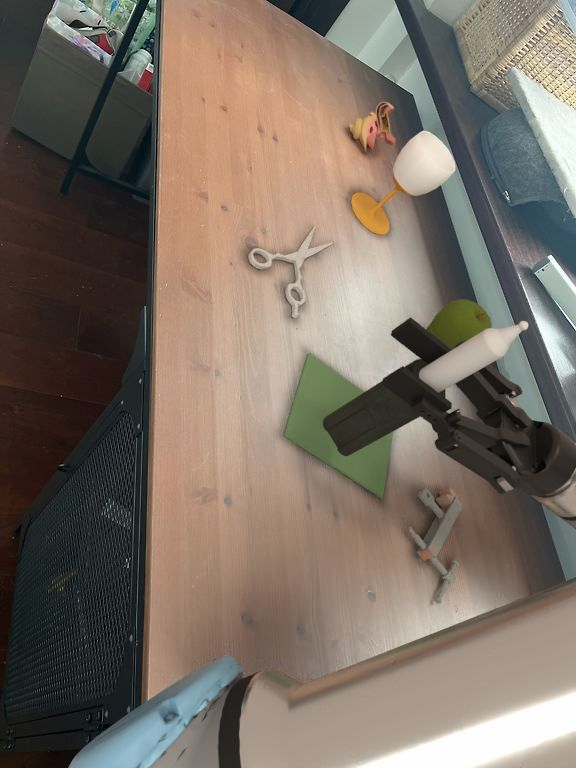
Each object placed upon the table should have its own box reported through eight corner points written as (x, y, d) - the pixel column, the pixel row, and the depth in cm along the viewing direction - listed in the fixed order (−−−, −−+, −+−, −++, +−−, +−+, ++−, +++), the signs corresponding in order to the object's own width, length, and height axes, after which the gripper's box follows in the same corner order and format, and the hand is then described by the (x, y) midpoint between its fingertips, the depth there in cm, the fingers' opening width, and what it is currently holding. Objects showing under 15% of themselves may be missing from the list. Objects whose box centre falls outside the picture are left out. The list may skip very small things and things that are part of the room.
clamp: (438, 470, 85) (482, 526, 86) (426, 476, 87) (470, 530, 87) (395, 540, 74) (447, 604, 75) (383, 545, 76) (433, 607, 76)
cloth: (380, 498, 79) (383, 497, 79) (283, 435, 74) (285, 434, 74) (393, 415, 88) (395, 414, 88) (307, 354, 83) (309, 352, 83)
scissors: (242, 258, 82) (304, 205, 97) (239, 261, 83) (301, 208, 97) (296, 316, 84) (350, 255, 98) (293, 319, 84) (346, 258, 99)
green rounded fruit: (441, 334, 106) (496, 299, 98) (450, 377, 102) (509, 343, 94) (405, 319, 101) (460, 281, 93) (414, 363, 97) (471, 327, 89)
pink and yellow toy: (344, 149, 116) (354, 94, 113) (345, 153, 125) (355, 103, 123) (393, 157, 115) (404, 102, 112) (390, 161, 125) (400, 110, 122)
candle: (318, 420, 70) (500, 305, 52) (344, 405, 73) (521, 292, 56) (343, 459, 69) (533, 355, 52) (367, 442, 73) (553, 340, 56)
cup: (396, 230, 113) (465, 171, 102) (371, 239, 106) (442, 177, 95) (368, 190, 113) (433, 127, 102) (342, 196, 107) (409, 129, 96)
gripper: (522, 555, 64) (355, 441, 56) (520, 415, 76) (383, 306, 69) (589, 536, 58) (414, 408, 51) (575, 389, 71) (433, 268, 64)
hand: (396, 350), depth 60 cm, fingers closed on candle, 6 cm apart
